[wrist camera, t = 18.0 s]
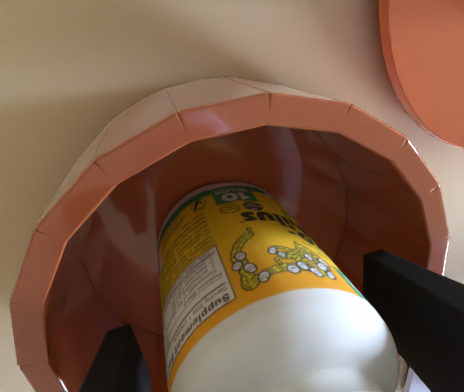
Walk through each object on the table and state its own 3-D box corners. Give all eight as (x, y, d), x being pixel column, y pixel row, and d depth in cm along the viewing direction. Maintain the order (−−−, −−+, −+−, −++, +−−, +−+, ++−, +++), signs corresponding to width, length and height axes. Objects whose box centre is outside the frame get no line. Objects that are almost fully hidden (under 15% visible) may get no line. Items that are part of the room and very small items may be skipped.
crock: (355, 49, 12) (482, 48, 8) (353, 298, 17) (425, 385, 13) (-1, 117, 10) (-117, 171, 6) (120, 373, 16) (110, 504, 11)
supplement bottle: (129, 257, 13) (99, 677, 4) (213, 149, 12) (393, 408, 3) (232, 307, 15) (347, 643, 7) (309, 220, 14) (562, 480, 6)
